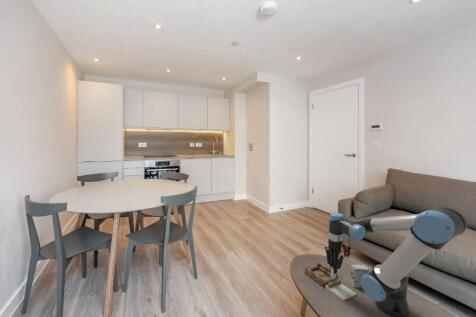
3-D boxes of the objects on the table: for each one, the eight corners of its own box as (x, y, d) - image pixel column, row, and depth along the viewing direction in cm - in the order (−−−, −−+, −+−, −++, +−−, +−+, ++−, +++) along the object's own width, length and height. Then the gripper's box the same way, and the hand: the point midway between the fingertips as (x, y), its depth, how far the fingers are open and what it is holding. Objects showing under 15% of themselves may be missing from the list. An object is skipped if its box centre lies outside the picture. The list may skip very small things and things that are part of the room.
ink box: (364, 283, 135) (365, 265, 134) (368, 288, 131) (369, 269, 130) (349, 282, 136) (351, 263, 135) (353, 287, 131) (354, 268, 130)
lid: (356, 296, 125) (356, 289, 124) (343, 301, 120) (343, 295, 120) (337, 283, 136) (337, 277, 136) (325, 287, 131) (325, 282, 131)
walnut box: (338, 281, 137) (338, 274, 136) (322, 287, 131) (323, 280, 131) (319, 268, 150) (319, 262, 150) (304, 273, 144) (305, 267, 144)
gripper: (349, 242, 126) (346, 282, 128) (330, 234, 138) (328, 270, 140) (340, 245, 123) (338, 285, 125) (322, 236, 134) (320, 273, 136)
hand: (333, 277), depth 132 cm, fingers closed
